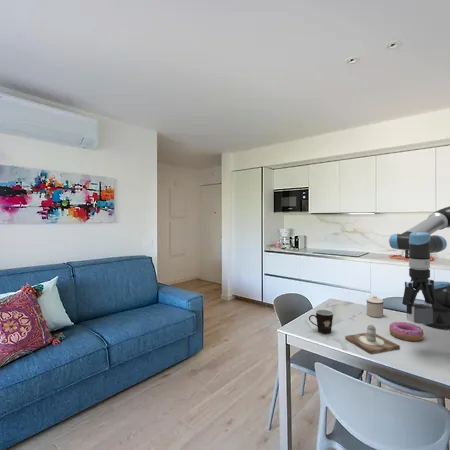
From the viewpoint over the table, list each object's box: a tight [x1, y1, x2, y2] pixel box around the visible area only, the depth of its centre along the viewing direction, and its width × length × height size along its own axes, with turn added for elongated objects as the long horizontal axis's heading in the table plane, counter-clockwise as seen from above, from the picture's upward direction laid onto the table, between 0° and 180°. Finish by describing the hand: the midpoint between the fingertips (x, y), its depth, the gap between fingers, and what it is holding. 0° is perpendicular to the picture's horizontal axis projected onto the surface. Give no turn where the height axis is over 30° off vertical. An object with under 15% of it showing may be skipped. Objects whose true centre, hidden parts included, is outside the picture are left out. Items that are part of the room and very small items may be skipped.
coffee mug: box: [308, 309, 334, 335], centre depth 148 cm, size 12×9×10 cm
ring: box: [413, 302, 433, 325], centre depth 124 cm, size 9×9×6 cm
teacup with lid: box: [365, 295, 385, 319], centre depth 171 cm, size 12×9×12 cm
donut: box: [389, 321, 424, 342], centre depth 141 cm, size 14×14×5 cm
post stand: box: [344, 324, 401, 355], centre depth 133 cm, size 16×16×9 cm
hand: (419, 319), depth 124 cm, fingers closed on ring, 9 cm apart
